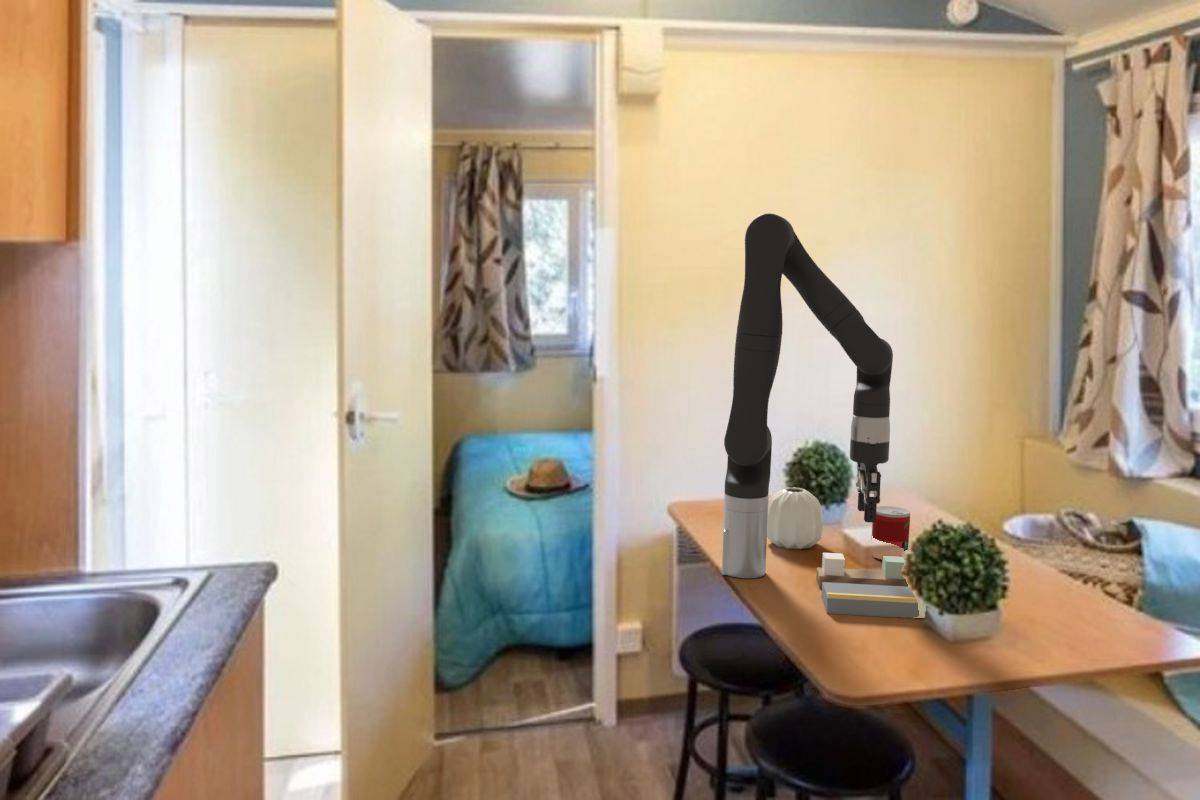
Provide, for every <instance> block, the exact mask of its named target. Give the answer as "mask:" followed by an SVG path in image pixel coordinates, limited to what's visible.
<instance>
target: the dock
mask: <svg viewBox="0 0 1200 800" xmlns="http://www.w3.org/2000/svg"><path fill="white" fill-rule="evenodd" d="M821 599H822V602H823V605H824V609H825V611H826V614H831V615H833V614H834V615H835V614H836V615H849V616H850V615H851V616H865V617H885V618H898V617H900V618H899V619H912V618H911V617H918V616H919V610H918V602H917V599H916V597H915V596H914V594H913V592H912V591H911V589H910V587H904V586H886V585H867V584H849V583H831V582H822V589H821ZM901 617H902V618H901ZM906 617H907V618H906ZM908 617H910V618H908Z"/></svg>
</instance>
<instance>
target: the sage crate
mask: <svg viewBox="0 0 1200 800" xmlns="http://www.w3.org/2000/svg"><path fill="white" fill-rule="evenodd" d="M905 561H906V560H905V559H904V558H903V557H900V556H883V559H882V561H881V562H882V563H881V571H882V573H883V575H884V577H885V578H888V579H905V578H904V577H903V576H902V574H901V570H902V567H903V565H904V562H905Z"/></svg>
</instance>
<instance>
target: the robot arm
mask: <svg viewBox="0 0 1200 800" xmlns="http://www.w3.org/2000/svg"><path fill="white" fill-rule="evenodd" d="M783 276H784V277H785V278H786V279H787V280H788V281H789V282H790V284H792V286H793V287H794V288H795V290H796V291H797V292H798V294H799V295H800V298H802V300H803V301H804V302H805V305H806V306H807V307H808V309H809V310H810V311H811V312H812V314H813V315H814V317H816V319H817V320H818V321H819V322H820V323H821V325H822V326H823V327H824V328H825V329H826V330H827V331H828V332H829V334H830V335H831V336H832V337H833V338H834V339H835V340H836V341H837V342H838V343H839V345H840V347H841V348H842V349H843V351H844V353H845V354H846V355H847V356H848V358H849V359H850V360H851V362H852V363H853V364H854V366H856V385H855V390H854V393H853V401H852V402H853V405H852V420H851V423H850V424H851V425H850V440H849V441H850V442H849V443H850V444H849V459H850V460H851V461H852V462H855V463H856V481H855V482H856V483H855V487H856V491H857V510H858V511H859V512H863V521H864V522H865V523H874V522H875V521H876V508H877V507H878V505H879V504H880V503H881V478H882V475H881V472H880V471H879V470H878V465H880V464H881V465H882V464H886V463H887V462H888V461H889V460H890V459H889V457H890V441H891V439H890V437H891V423H890V416H891V415H890V414H891V413H890V411H891V391H890V390H891V389H890V387H891V385H890V384H891V378H892V370H893V362H894V361H893V358H894V356H893V355H894V354H893V349H892V347H891V345H890V343H889V342H888V341H886V340H885V339H883V338H880V336H879V335H877V333H876V332H875V331H874V330H873V329H872V327H871V326H869V325H868V323H867V322H866V321H865V317H864V316H863V314H862V313H861V312H860V310H859V309H857V308H856V306H855V305H854V304H853V303H852V301H851V300H850V299H849V298H848V297H847V296H846V294H845V293H844V292H843V291H842V290H840V288H839V287H838V286H837V285H836V284H835V283H834V282H833V281H832V280H831V279H830V278H829V277H828V276H827V275H826V273H824V272H823V271H822V269H821V268H820V267H819V266H818V265H817V263H816V262H815V261H814V260H813V258H812V257H811V255H810V254H809V253H808V251H807V250H806V249H805V247H804V245H803V244H802V242H801V240H800V239H799V237H798V235H797V233H796V232H795V230H794V228H793V226H792V223H790V221H788V220H787V219H786V218H785V217H782V216H780V215H778V214H775V213H769V212H768V213H763V214H760V215H758V216H756V217H755V218H754V219H752V220H751V221H750V223H749V225H748V226H747V228H746V231H745V235H744V283H743V284H744V285H743V291H742V296H741V299H740V300H741V301H740V308H739V313H738V320H737V327H736V334H735V343H734V344H735V345H734V356H733V358H734V359H733V379H732V380H733V383H732V384H733V385H732V386H733V390H732V391H733V392H732V401H731V407H730V413H729V418H728V423H727V427H726V431H725V434H724V439H723V443H724V445H723V447H724V450H725V453H726V455H727V462H726V463H727V465H726V466H727V467H726V474H725V479H724V496H723V498H724V501H723V502H724V503H723V524H722V525H723V526H722V527H723V528H722V552H721V553H722V558H721V559H722V561H721V575H722V576H729V577H733V578H738V579H756V578H761V577H764V576H765V575H766V570H767V568H766V567H767V548H768V547H767V544H768V542H767V539H768V537H767V521H768V501H769V495H770V494H769V493H770V491H769V489H770V481H771V480H770V479H771V469H772V468H771V466H772V447H773V436H772V432H771V429H770V427H768V413H769V401H770V396H771V392H772V388H773V386H774V385H773V384H774V381H775V377H776V374H777V370H778V366H779V360H780V355H781V346H782V340H783V339H782V338H783V337H782V336H783V306H782V296H781V293H782V292H781V291H782V290H781V289H782V288H781V286H782V279H783V278H782V277H783ZM872 494H873V496H871V495H872Z"/></svg>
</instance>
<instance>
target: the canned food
mask: <svg viewBox="0 0 1200 800" xmlns="http://www.w3.org/2000/svg"><path fill="white" fill-rule="evenodd" d="M871 523H872V522H871ZM910 523H911V511H910V510H908V509H906V508H903V507H899V506H890V505H888V506H887V505H884V506H882V505H880V506H877V508H876V521H875V522H874V523H872V525H871V526H872V527H871V537H872V536H873V538H875V539H877V540H879V541H883V542H886V543H891V544H894V545H897V546H899V547H900V548H903V549H904V551H905V550H907V549H908V550H909V542H910V541H909V540H910V539H909V538H910V529H911V528H910V525H911V524H910Z"/></svg>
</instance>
